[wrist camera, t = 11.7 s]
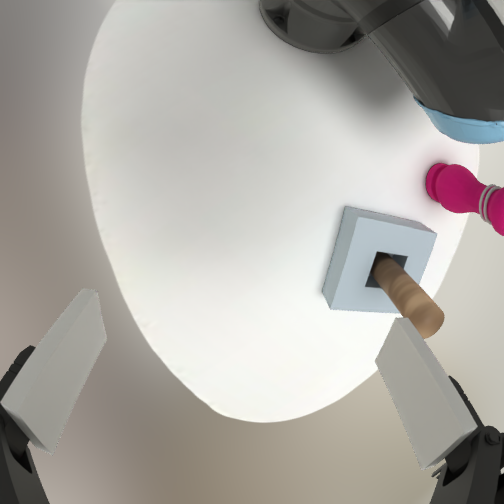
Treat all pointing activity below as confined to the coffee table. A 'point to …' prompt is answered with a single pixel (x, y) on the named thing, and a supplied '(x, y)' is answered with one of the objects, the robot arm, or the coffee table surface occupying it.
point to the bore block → (363, 253)
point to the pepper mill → (466, 194)
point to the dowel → (407, 295)
